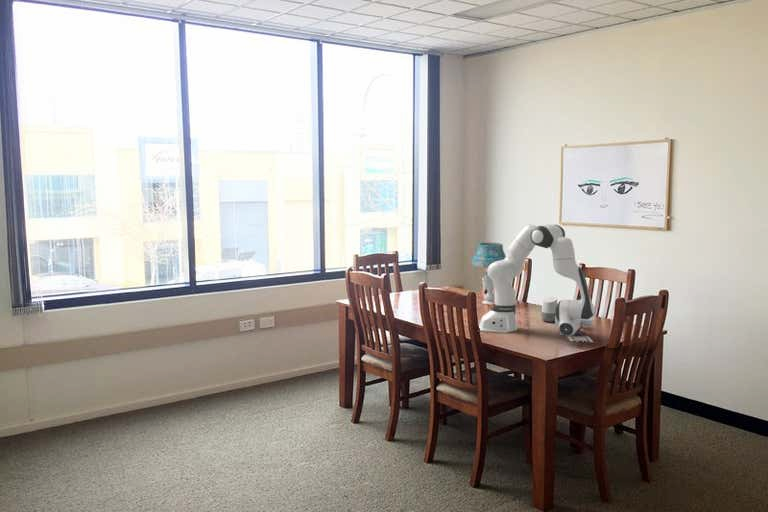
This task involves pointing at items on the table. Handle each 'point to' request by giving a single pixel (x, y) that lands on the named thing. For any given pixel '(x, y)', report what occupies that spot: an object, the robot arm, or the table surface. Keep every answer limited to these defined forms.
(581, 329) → the ink pad
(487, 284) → the table lamp
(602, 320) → the table surface
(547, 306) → the smart speaker
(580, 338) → the sheet
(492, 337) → the table surface
